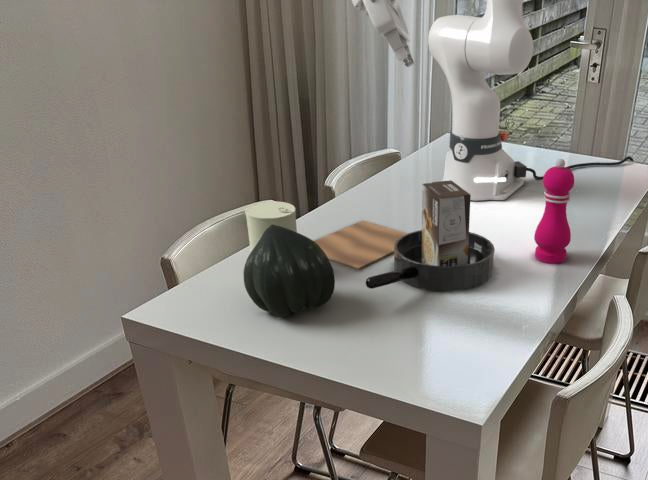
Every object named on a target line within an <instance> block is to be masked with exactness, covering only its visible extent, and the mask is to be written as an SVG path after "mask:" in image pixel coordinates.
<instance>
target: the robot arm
mask: <svg viewBox="0 0 648 480" xmlns="http://www.w3.org/2000/svg"><path fill="white" fill-rule="evenodd" d="M350 1H351V3H352V5H353V8H354V9H355V10H357V11H363V12H364V15H365V16H369V19H370V21H371V23H372V25H373V27H374V29H375V31H376V32H377V34H378V35H379V36H381V38H383V39H384V40H385V41H386V42H387V43H388V44H389V46H390V47H391V49H392V51H393V53H394V55H395V57H396V59H397V60H398V61H400V62H403V64H404V66H405V67H407V68H410V67H412V66H413V65H415V60H414V58H413V55H412V53H411V50H410V47H409V44H408V43H409V42H410V41H411V37H410V36H411V35H410V33H409V29H408V27H407V24H406V21H405V19H404V15H403V13H402V10H401V6H400V4H399V1H398V0H350ZM482 1H483V2H484V4H486V7H485V11H484V15H482V16H480V17H479V16H472V15H465V14H451V15H450V14H449V15H445V16H439V17H438V18H436V19H435V21H433V23H432V25H431V26H430V29H429V32H428V36H427V37H428V38H427V42H428V43H427V44H428V49H429V53H430V55H431V57H432V58H433V59H434V60H435V61H436V62H437V64H438V65H439V67H440V68H441V70H442V71H443V73H444V76H445V79H446V81H447V84H448V88H449V91H450V97H451V118H452V119H451V131H450V132H449V138H448V139H449V140H448V141H449V149H450V150H449V151H448V152H447V153H446V155H445V164H444V173H443V179H440V181H453V182H454V183H456V184H457V185H458V186H460V187H461V188H462V189H464V190H465V191H466V192H468V193H469V194H470V195H471V197H470V201H476V202H477V201H490V200H491V201H505V200H507V199H508V198H509V197H511V195H513V194H514V193H515V192H516V191H518V190H519V189H520V188H521V187H522V186H523V185H524V184H525V181H524V179H523V178H526V177H527V172H531V173H532V176H533V178H534V179H535V180H543V177H544V175H543V176H537V171H536V170H535V169H533V168H530V167H527V165H525V164H524V163H522V162H521V161H519V160H518V161H515V160H514V158H512V157H511V156H510V155H509V154H508V153H507V152H506V151H505V150H504V149H503V144H502V142H506V141H507V140H508V137H509V133H508V132H506V131H500V119H501V118H500V117H501V100H500V97H499V95H498V94H497V93H496V92H495V90H494V89H492V88H491V87H490V85H489V83H488V82H487V80H486V77H485V73H486V74H493V75H498V76H507V75H517V74H521V73H522V72H524V70H525V69H526V68H527V67H528V66H529V64H530V62H531V60H532V58H533V55H534V54H533V53H534V41H533V36H532V34H531V31H530V30H529V28H527V26H526V24H525V21H524V17H523V16H524V15H523V3H524V0H482ZM628 160H630V162H634V161H635V160H634V159H633V157H632V156H629V155H628V156H626V157H625V158H623V159H622V160H620V161H613V162H600V161H599V162H585V163H584V162H583V163H577V164H572V165H568V166H565V167H566V168H568V169H569V170H571V169H574V168H581V167H590V166H619V165H622V164H624V163H625V162H626V161H628Z"/></svg>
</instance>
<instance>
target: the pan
mask: <svg viewBox="0 0 648 480" xmlns="http://www.w3.org/2000/svg"><path fill="white" fill-rule="evenodd" d="M495 251H496V250H495V246H494V244H493V242H492V241H491V240H489V239H488V238H487V237H485V236H483V235H480V234H478V233H476V232H475V233H474V232H471V231H469V243H468V264H467V265H460V266H435V265H428V264H423V263H422V229H420V230H416V231H412V232H408V233H406V235H404V236H402V237H400V238H399V239H398V240H397V241H396V242H395V244H394V253H393V258H394V259H393V260H394V261H393V265H394V267H393V268H394V269H393V271H396V270H400V269H404V268H408V267H412V266H413V267H416V268H417V270H418V276H417V277H414V278H410V279H407V280H403V281H402V282H403V283H405V284H407V285H409V286H412V287H414V288H418V289H422V290H426V291H434V292H458V291H467V290H470V289H475V288H477V287H480V286H483V285H484V284H486V283H487V282H489V281H490V280H491V279H492V278H493V275H494V266H495V265H494V264H495Z"/></svg>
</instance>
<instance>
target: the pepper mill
mask: <svg viewBox="0 0 648 480" xmlns="http://www.w3.org/2000/svg"><path fill="white" fill-rule="evenodd" d="M566 167H567V166H566V161H565V159H563V158H557V160H556V161H555V166H552V167H550V168H548V169H547V170H546V171H545V173H544V174H543V176H544V177H543V176H542V177H543V179H542V185H543V187H544V189H545V190H544V192H543V194H544V195H543V199H544V200H545V206H544V211H543V214H542V217H541V218H540V221H539V223H538V224H537V226H536V228H535V231H534V236H533V240H534V242H535V244H536V245H537V246H536V247H535V250H534V257H535V259H536V260H537V261H539V262H541V263H544V264H552V265H553V264H562V263H564V262H565V261H566V259H567V253H568V252H567V249H566V248H567V247H568V246H569V244H570V243H571V238H572V233H571V228H570V225H569V221H568V218H567V217H568V216H567V206H568V203H569V202H570V200H571V198H570V196H571V192H570V191H572V189H573V188H574V186H575V175H574V172H573V171H571V169H568V168H566Z"/></svg>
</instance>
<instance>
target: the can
mask: <svg viewBox="0 0 648 480" xmlns="http://www.w3.org/2000/svg"><path fill="white" fill-rule="evenodd" d="M296 211H297V209H296V207H295V206H294V205H293V204H292V203H289V202H285V201H276V200H274V201H273V200H270V201H269V200H268V201H261V202H256V203H253V204H250V205H249V206H247V207H246V208H245V211H244V213H245V219H246V226H247V232H248V243H249V250H250V251H249V252H250V253H251V251H252V250H253V248H254V247H255V245H256V244H257V243H258V241H259V239H260V238H261V236H262V234H263V233H264V231H265V230H266V229H267V228H268V227H270V225H272V224H274V225H276V226H281V227H284V228H287V229H289V230H292V231H295V232H297V233H298V230H297V216H296V215H297V214H296Z"/></svg>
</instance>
